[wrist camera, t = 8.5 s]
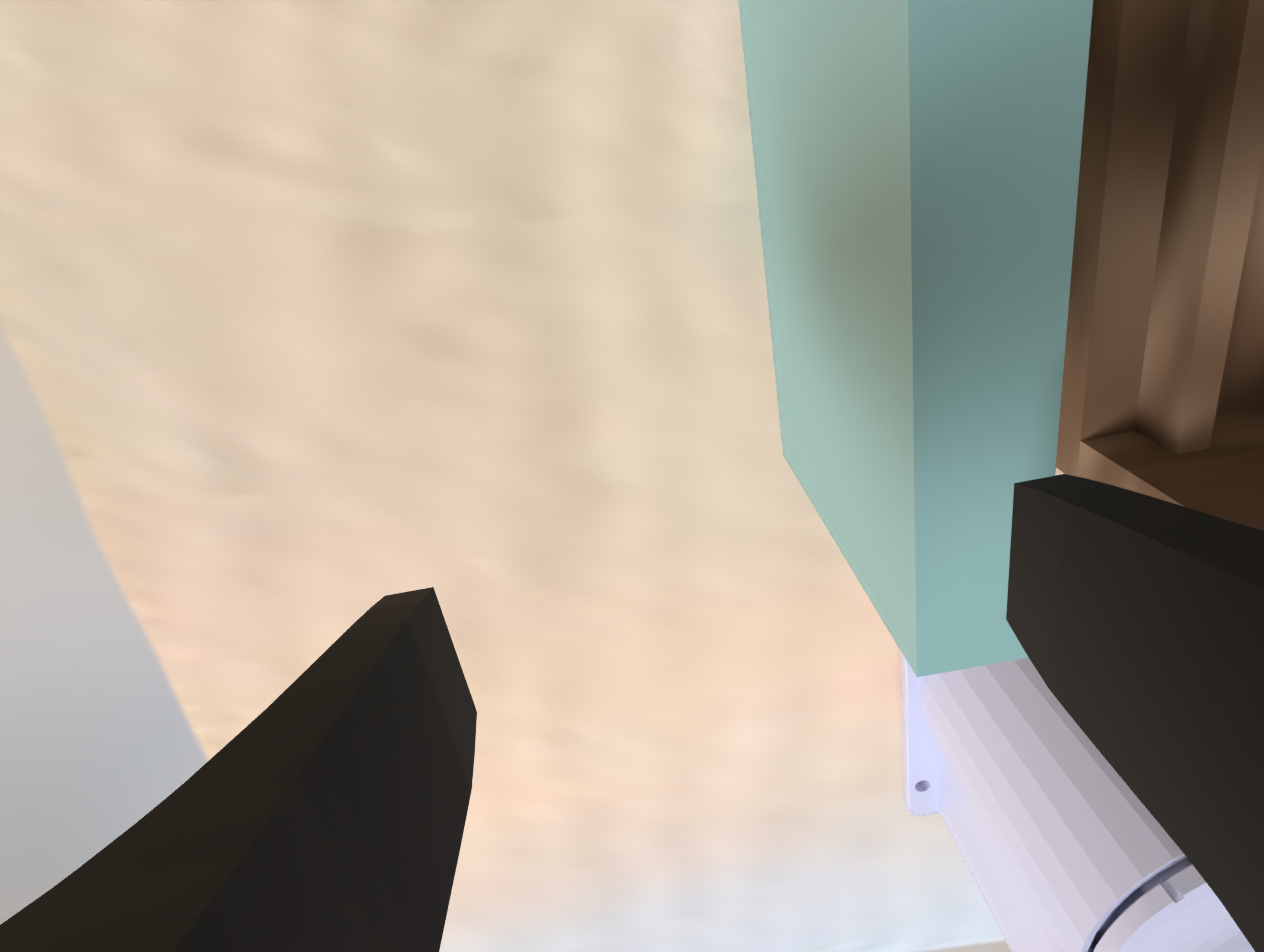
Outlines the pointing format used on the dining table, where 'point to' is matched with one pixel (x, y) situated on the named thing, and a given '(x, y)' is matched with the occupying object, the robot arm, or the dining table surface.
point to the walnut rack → (1170, 258)
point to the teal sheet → (919, 284)
